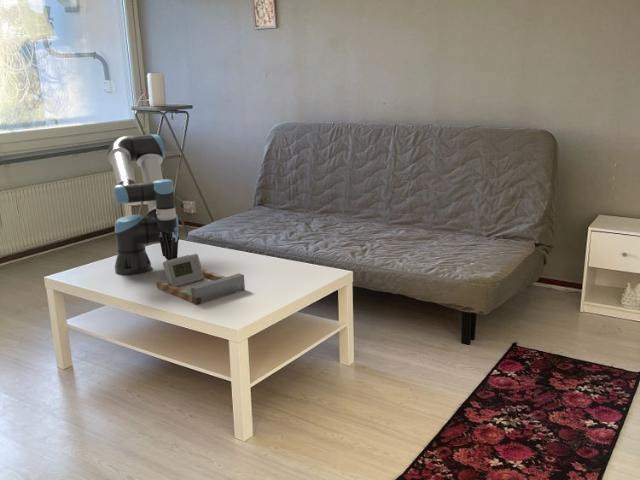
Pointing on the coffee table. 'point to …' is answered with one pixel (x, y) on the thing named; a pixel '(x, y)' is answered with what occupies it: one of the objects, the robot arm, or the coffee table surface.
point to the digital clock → (183, 270)
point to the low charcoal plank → (218, 288)
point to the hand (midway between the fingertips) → (171, 274)
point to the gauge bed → (187, 294)
